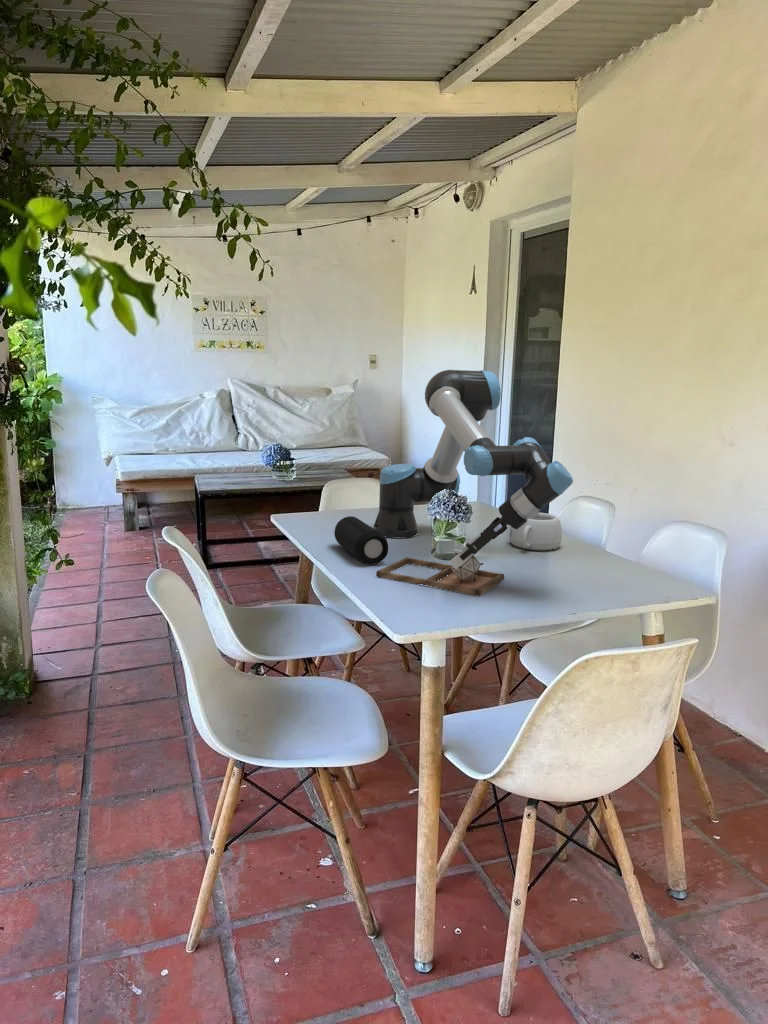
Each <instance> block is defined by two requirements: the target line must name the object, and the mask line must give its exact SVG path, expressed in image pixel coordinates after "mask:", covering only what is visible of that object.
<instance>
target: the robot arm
mask: <svg viewBox="0 0 768 1024" xmlns="http://www.w3.org/2000/svg"><path fill="white" fill-rule="evenodd" d="M501 393H502V390H501V384H500V381H499V378H498V376H497V374H495V373H494V372H492V371H488V370H487V371H486V370H483V369H480V370H465V369H464V370H463V369H462V370H460V369H447V370H446V369H445V370H442V371H439V372H438V373H436V374H434V375H432V377H431V378H430V379H429V381H428V382H427V385H426V387H425V390H424V401H425V403H426V406H427V408H428V409H429V411H430V412H431V414H433V415H434V416H436V417H439V419H440V420H441V421H442V423H443V424H444V425H445V426H444V429H443V431H442V433H441V436H440V439H439V442H437V446H436V447H435V450H434V453H433V455H432V457H431V458H429V459H427V460H426V461H425V463H424V465H423V467H418V468H417V467H416V465H415V464H413V463H396V464H390V465H387V466H385V467H383V468H382V469H381V471H380V476H379V477H380V478H379V502H378V503H379V506H378V509H379V510H378V513H377V516H376V518H375V522H374V524H373V527H372V528H373V529H375V530H376V531H378V532H380V533H381V534H383V535H384V536H386V537H385V538H387V537H410V538H412V537H411V536H414V535H416V534H417V533H418V532H419V526H418V523H417V520H416V516H415V512H414V510H415V509H414V505H415V504H417V503H431V502H430V501H431V499H432V497H433V496H434V495H435V494H436V493H438V492H440V491H442V490H444V489H447V488H450V489H452V490H454V491H455V492H456V493H457V494H458V493H459V490H460V484H461V477H460V473H459V471H458V469H457V467H458V465H459V463H460V460H461V458H462V456H463V465H464V469H465V471H466V473H468V475H471V476H480V477H487V476H502V475H503V476H504V475H506V476H509V475H511V476H513V475H517V476H518V475H523V476H524V478H525V480H527V482H526V484H525V485H523V486H522V487H520V488H519V489H518V490H517V491H516V492H515V493H514V494H512V495H511V496H510V499H507V500H505V501H504V502H503V503H501V505H499V507H498V512H499V514H500V515H501V516H500V517H499V516H497V517H496V518H495V519H493V521H491V523H489V525H488V526H487V527H486V528H485V529H483V531H482V532H480V534H478V535H477V536H476V537H474V538H473V539H472V540H471V541H469V542H467V543H465V546H463V547H462V548H461V549H460V550H461V551H460V552H459V553H457V555H456V554H455V556H454V557H453V558H451V559H450V560H449V563H450V565H452V566H453V567H454V568H455V569H457V568H458V567H460V566H461V565H462V564H463V563H464V562H466V561H467V560H468V559H469V558H471V557H472V556H473V555H474V556H475V555H476V554H477V553H478V552H479V551H480V550H481V549H483V548H484V547H485V546H486V545H488V544H489V543H491V541H492V540H495V539H496V538H497V537H498V536H499V535H502V534H504V533H505V532H506V531H507V530H508V527H507V526H510V528H511V527H512V528H514V529H519V528H520V527H521V526H522V525H524V524H525V523H526V522H527V519H531V518H532V517H533V516H534V515H537V516H538V515H539V514H540V513H541V512H540V511H541V510H543V509H544V508H545V507H546V506H547V505H549V504H550V503H551V502H552V501H554V500H556V499H557V498H558V497H559V496H561V495H562V494H564V493H565V492H566V491H567V490H568V488H569V487H571V485H572V484H573V483H574V479H573V476H572V475H571V473H570V472H569V471H568V469H567V467H565V466H564V464H562V463H561V462H559V461H558V460H553V461H552V462H551V461H550V459H549V457H548V456H547V453H546V452H545V451H544V448H543V447H542V446H541V444H539V443H538V441H537V440H536V439H535V438H533V437H528V436H525V437H523V438H522V439H518V440H516V441H515V443H513V444H512V445H496V443H494V441H493V440H492V439H491V438H490V436H489V435H488V434H487V433H486V431H485V430H484V429H483V427H482V426H481V425H480V424H479V423H478V422H481V421H483V420H484V418H485V416H486V414H487V413H488V411H495V410H496V409H498V408H499V406H500V402H501V397H502V395H501ZM418 534H419V533H418ZM418 534H417V535H418ZM417 535H416V536H417ZM414 537H415V536H414Z"/></svg>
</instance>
